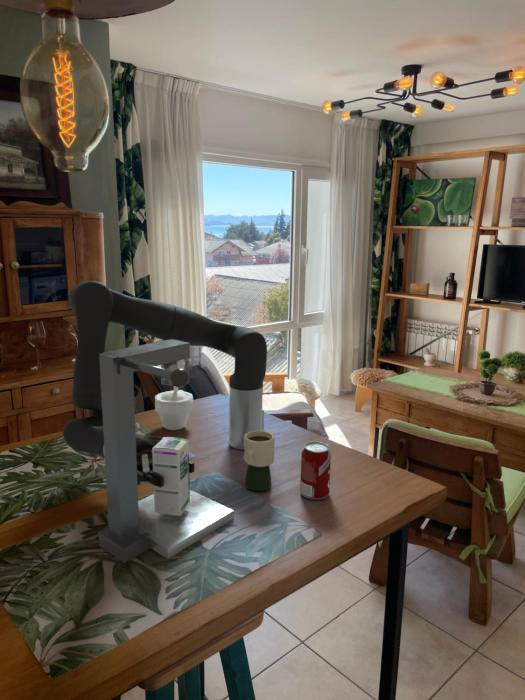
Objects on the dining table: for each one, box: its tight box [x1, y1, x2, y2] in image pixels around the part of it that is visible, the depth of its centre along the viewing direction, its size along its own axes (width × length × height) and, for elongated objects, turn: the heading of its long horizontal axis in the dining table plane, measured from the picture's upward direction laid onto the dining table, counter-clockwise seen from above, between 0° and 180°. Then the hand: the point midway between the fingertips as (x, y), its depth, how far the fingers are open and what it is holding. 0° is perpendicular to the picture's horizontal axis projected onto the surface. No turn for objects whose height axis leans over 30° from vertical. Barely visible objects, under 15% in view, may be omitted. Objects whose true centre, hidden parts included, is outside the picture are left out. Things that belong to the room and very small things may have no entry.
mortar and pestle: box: [154, 357, 194, 431], centre depth 156 cm, size 13×12×25 cm
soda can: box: [299, 441, 332, 501], centre depth 119 cm, size 7×7×12 cm
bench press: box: [97, 339, 235, 564], centre depth 99 cm, size 24×27×38 cm
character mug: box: [243, 430, 276, 491], centre depth 122 cm, size 11×7×13 cm, turn 156°
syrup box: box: [152, 436, 191, 516], centre depth 106 cm, size 6×6×14 cm
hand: (178, 475), depth 104 cm, fingers closed on syrup box, 7 cm apart
